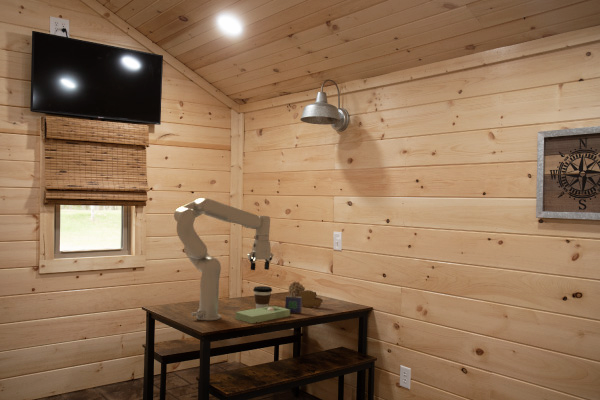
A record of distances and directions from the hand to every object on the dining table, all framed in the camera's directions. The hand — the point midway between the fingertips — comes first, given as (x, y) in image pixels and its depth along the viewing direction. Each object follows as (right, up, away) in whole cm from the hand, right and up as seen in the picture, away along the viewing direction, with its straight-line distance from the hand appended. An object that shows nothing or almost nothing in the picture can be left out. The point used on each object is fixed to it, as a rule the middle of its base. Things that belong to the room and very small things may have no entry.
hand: (259, 269), depth 274 cm
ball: (+6, -22, -4) cm, 23 cm away
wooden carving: (+27, -25, +22) cm, 43 cm away
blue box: (+18, -25, +5) cm, 31 cm away
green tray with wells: (+2, -24, -8) cm, 25 cm away
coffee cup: (0, -24, +13) cm, 28 cm away
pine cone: (+22, -25, +48) cm, 58 cm away
